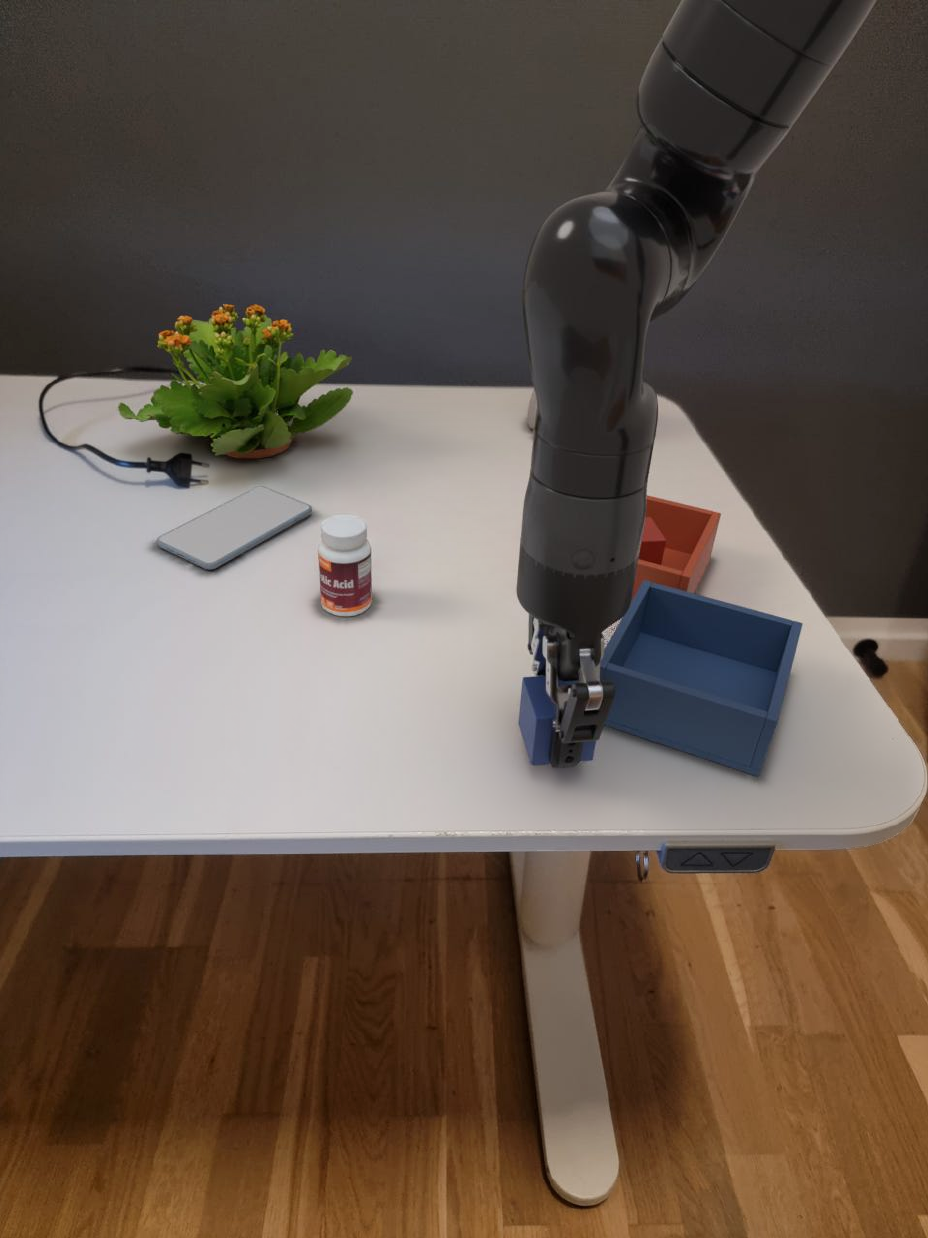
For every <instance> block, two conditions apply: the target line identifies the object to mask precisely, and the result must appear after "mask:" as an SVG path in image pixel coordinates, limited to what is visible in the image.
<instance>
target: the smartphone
mask: <svg viewBox="0 0 928 1238" xmlns="http://www.w3.org/2000/svg"><path fill="white" fill-rule="evenodd" d="M312 513H313V507H312V505H310V504H308V503H306V502H303V501H301V500H298V499H295V498H294V497H291V496H289V495H286V494H284V493H281V492H278V491H276V490H273V489H271V488H269V487H266V486H261V485H260V486H256V487H254V488H252V489H250V490H248V491H246V492H244V493H242V494H240V495H238V496H236V497H235V498H232V499H230V500H228V501H226V502H223V504H220V505H218V506H216V507H214V508H212V509H210V510H209V511H207V512H204V513H203V514H201V515H199V516H197V517H195V518H193V519H191V520H189V521H187V522H185V523H183V524H182V525H179V526H178V527H175V528H173V529H171V530H169V531H167V532H166V533H163V534H161V535H160V536H158V537H157V538H156V545H157V546H158V547H159V548H161V549H163V550H165V551H167V552H169V553H171V554H173V555H175V556H178V557H180V558H182V559H183V560H186V561H188V562H190V563H191V564H194V565H195V566H198V567H200V568H202V569H204V570H215V569H217V568H219V567H220V566H223V565H225V564H226V563H228V562H230V561H231V560H233V559H235V558H236V557H239V556H240V555H242V554H243V553H245V552H247V551H249V550H250V549H253V548H254V547H255V546H258V545H260V544H261V543H263V542H264V541H266V540H268V539H270V538H271V537H273V536H275V535H277V534H278V533H281V532H282V531H283V530H286V529H287V528H289V527H291V526H292V525H294V524H296V523H298V522H299V521H301V520H303V519H305V518H306V517H308V516H310V515H311V514H312Z"/></svg>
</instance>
